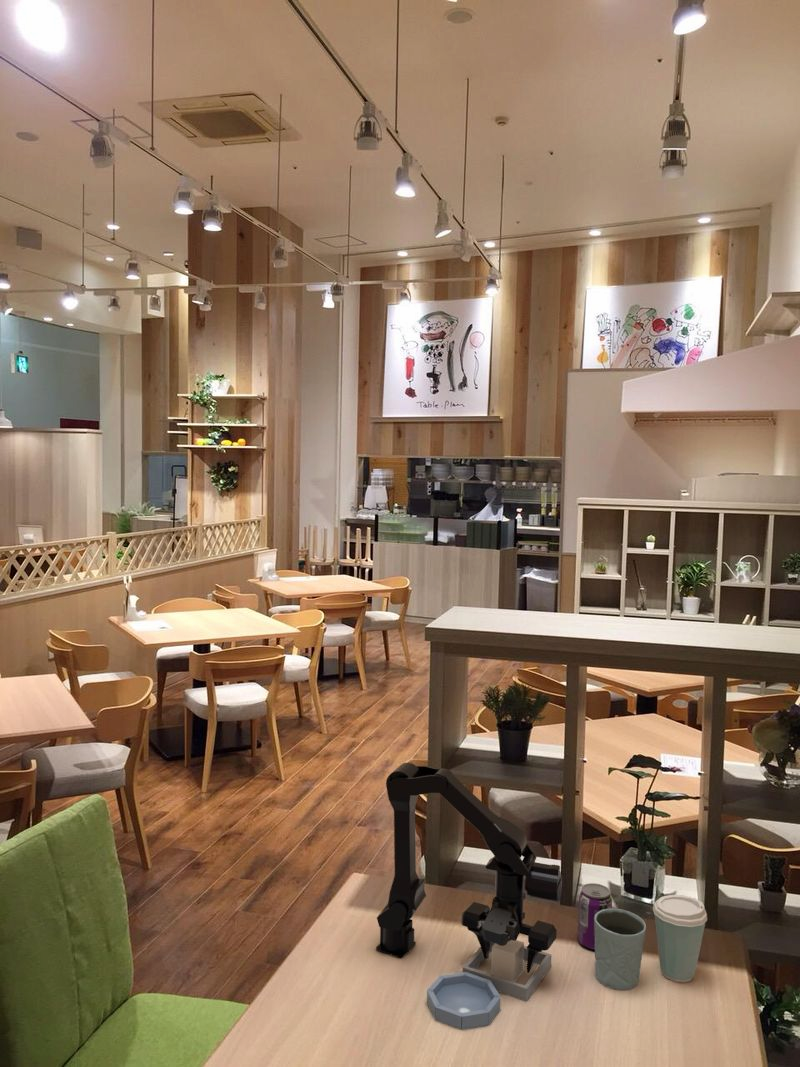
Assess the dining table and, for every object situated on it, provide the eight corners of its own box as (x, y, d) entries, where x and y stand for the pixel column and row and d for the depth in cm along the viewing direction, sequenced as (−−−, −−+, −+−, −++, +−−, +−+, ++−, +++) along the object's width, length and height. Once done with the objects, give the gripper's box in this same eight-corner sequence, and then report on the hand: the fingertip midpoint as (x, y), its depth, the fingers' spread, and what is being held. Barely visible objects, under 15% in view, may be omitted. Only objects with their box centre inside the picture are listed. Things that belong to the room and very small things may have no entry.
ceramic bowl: (417, 1013, 158) (417, 1000, 158) (448, 978, 169) (448, 966, 169) (480, 1036, 152) (480, 1023, 152) (508, 998, 163) (508, 986, 163)
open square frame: (462, 979, 169) (462, 967, 169) (489, 946, 181) (490, 935, 181) (526, 1001, 162) (527, 989, 162) (551, 966, 174) (551, 954, 174)
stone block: (491, 975, 171) (491, 947, 170) (500, 963, 175) (501, 935, 175) (514, 983, 168) (514, 954, 168) (523, 970, 173) (524, 942, 172)
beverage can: (611, 954, 179) (613, 899, 178) (577, 950, 180) (579, 896, 179) (610, 936, 186) (611, 884, 185) (577, 932, 187) (578, 880, 186)
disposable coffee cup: (646, 980, 170) (648, 908, 169) (654, 953, 179) (656, 885, 178) (701, 994, 165) (704, 921, 164) (707, 966, 175) (709, 896, 174)
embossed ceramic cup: (591, 961, 176) (593, 905, 176) (641, 966, 174) (643, 911, 174) (593, 989, 166) (595, 931, 166) (646, 996, 165) (648, 937, 164)
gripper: (450, 896, 168) (448, 971, 169) (538, 922, 159) (536, 1001, 160) (473, 873, 178) (472, 945, 179) (558, 896, 169) (556, 971, 170)
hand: (507, 965), depth 172 cm, fingers open, 9 cm apart
